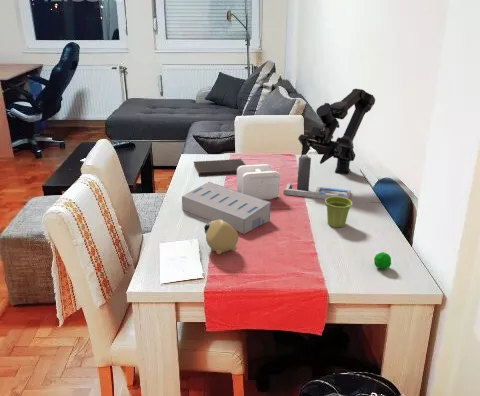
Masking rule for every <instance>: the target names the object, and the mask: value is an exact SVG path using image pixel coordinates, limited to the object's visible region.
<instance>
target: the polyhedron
mask: <svg viewBox="0 0 480 396" xmlns="http://www.w3.org/2000/svg"><path fill="white" fill-rule="evenodd" d="M373 259H374V260H373V261H374V265H375V266H376V268H378V269H380V270H386V269H389V268H390V266H391V265H392V257H391V256H390V254H389V253H387V252H382V251H381V252H380V253H377V254H376V255H375V256H374V258H373Z"/></svg>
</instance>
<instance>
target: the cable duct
mask: <svg viewBox="0 0 480 396" xmlns="http://www.w3.org/2000/svg"><path fill="white" fill-rule="evenodd" d="M291 186H292V183H289V182H288V183H287V185H286V187H285V188H283V195H289V196H299V197H305V198H315V199H322V200H325V199H326V198H329V197H344V198H347V199H349V200H350V196H351V190H350V189H343V188H341V189H340V188H332V187H325V186H324V187H323V186H317V187H316V190H315V191H312V190H311V191H310V190H309V191H303V190H297V189H292V188H291ZM321 190H323V191H321ZM324 190H325V191H334V192H341V193H338V194H336V193H328V192H325V191H324ZM344 193H346V194H344Z"/></svg>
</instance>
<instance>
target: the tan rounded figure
mask: <svg viewBox="0 0 480 396" xmlns="http://www.w3.org/2000/svg"><path fill="white" fill-rule="evenodd" d="M203 227H204V234H205V239H206V240H205V241H206V243H207V245H208V247H209V248H210V251H212V252H214V251H215V252H216V254H218V255H220V254H222V253H225V252H228V251H231V250H232V251H236V250H237V244H238V242H239V233H238V231H236V230H235V229H234V228H233V227H232V226H230V225H229V224H228V223H227V222H225V221H223V220H220V219H218V220H215V221H211V220H209V223H206V224H204V226H203Z"/></svg>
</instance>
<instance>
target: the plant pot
mask: <svg viewBox="0 0 480 396" xmlns="http://www.w3.org/2000/svg"><path fill="white" fill-rule="evenodd" d="M324 200H325V201H324V202H325V206H326V212H327V213H326V215H327V216H326V217H327V224H328V225H330V227H333V228H340V227H342V228H343V227H344V226H346V222H347V219H348V215H349V211H350V209H351V207H352V206H353V201H352V200H351V199H350V198H349V199H347V198H344V197H329V198H326V199H324Z"/></svg>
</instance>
